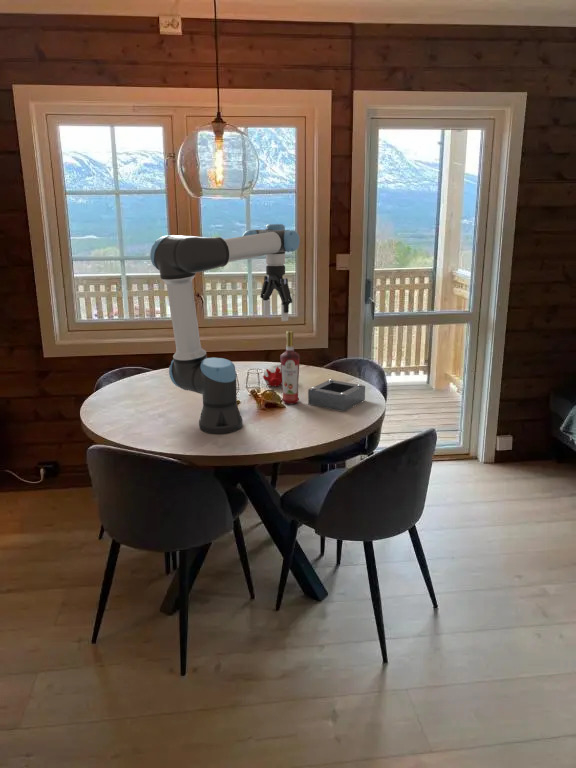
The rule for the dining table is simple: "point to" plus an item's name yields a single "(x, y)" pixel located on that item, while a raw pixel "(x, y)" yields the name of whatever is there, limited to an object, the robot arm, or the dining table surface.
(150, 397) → the dining table surface
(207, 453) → the dining table surface
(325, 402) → the housing
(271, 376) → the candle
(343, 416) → the dining table surface
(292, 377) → the liquor
